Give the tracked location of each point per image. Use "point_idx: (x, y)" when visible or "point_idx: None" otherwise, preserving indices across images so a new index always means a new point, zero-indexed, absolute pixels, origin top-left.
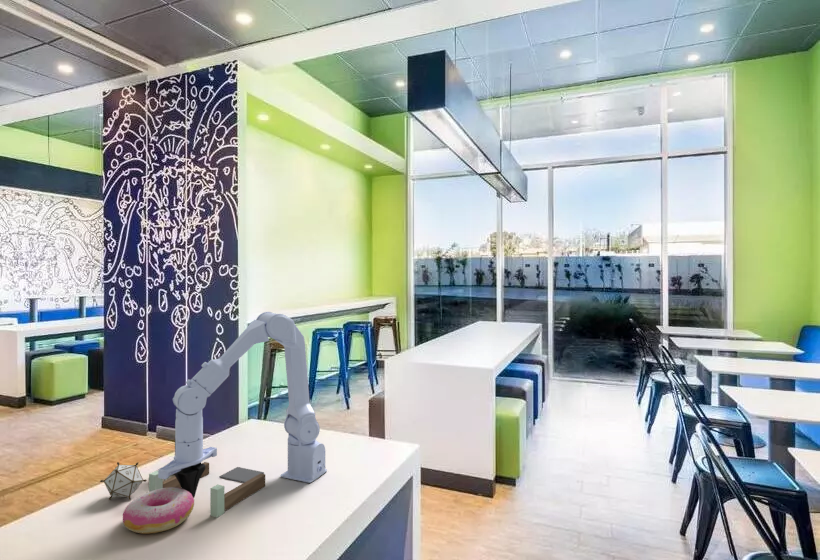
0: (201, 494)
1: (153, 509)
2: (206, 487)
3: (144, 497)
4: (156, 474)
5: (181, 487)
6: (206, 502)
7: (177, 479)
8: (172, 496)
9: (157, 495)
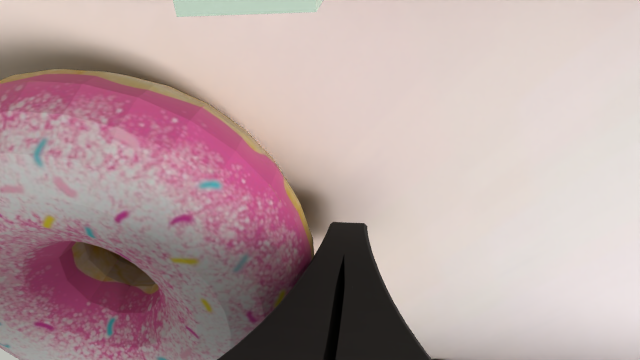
0: (486, 193)
1: (22, 356)
2: (607, 148)
3: (5, 225)
4: (204, 10)
5: (307, 271)
6: (404, 275)
7: (265, 318)
8: (174, 325)
9: (107, 249)
